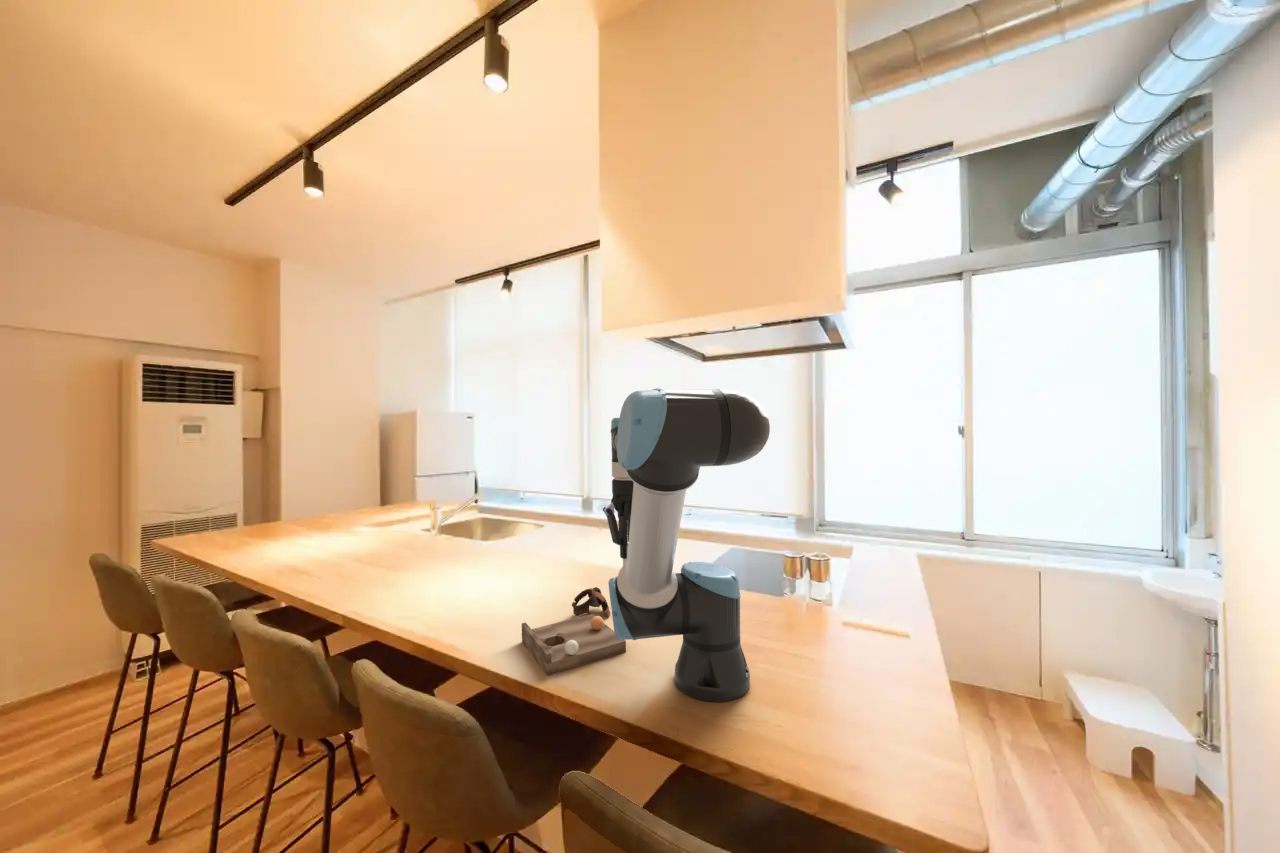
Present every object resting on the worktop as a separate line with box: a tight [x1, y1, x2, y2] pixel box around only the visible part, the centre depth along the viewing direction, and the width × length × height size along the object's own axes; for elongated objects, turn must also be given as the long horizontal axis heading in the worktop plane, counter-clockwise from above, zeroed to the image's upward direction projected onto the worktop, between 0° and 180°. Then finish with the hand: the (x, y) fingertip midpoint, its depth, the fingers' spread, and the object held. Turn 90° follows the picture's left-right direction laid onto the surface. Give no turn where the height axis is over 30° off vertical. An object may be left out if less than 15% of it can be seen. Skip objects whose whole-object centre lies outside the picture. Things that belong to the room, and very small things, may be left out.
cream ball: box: [565, 640, 578, 655], centre depth 102 cm, size 3×3×3 cm
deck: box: [521, 613, 627, 677], centre depth 111 cm, size 18×19×4 cm
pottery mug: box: [571, 586, 611, 619], centre depth 129 cm, size 12×10×8 cm
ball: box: [591, 615, 605, 630], centre depth 114 cm, size 3×3×3 cm
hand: (628, 570), depth 119 cm, fingers closed
